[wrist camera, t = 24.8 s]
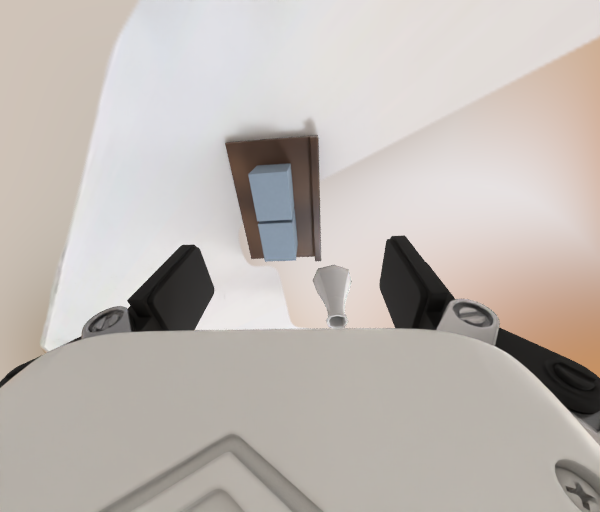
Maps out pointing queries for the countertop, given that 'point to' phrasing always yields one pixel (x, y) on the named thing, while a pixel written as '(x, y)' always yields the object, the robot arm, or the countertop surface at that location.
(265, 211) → the pad
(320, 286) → the flask
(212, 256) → the countertop surface
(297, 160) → the backing board
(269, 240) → the pad
